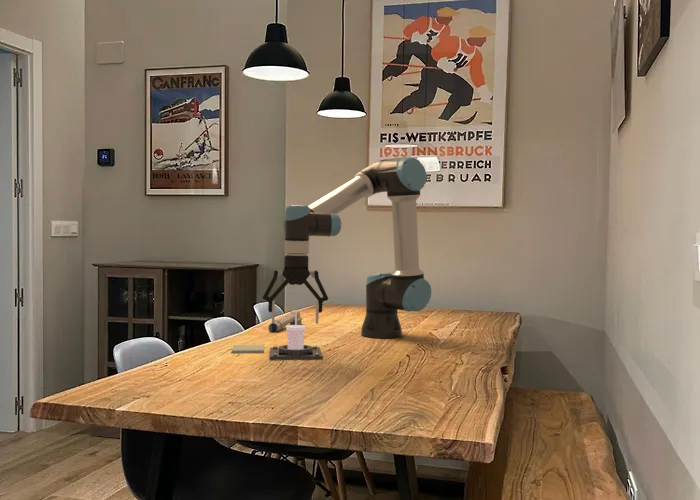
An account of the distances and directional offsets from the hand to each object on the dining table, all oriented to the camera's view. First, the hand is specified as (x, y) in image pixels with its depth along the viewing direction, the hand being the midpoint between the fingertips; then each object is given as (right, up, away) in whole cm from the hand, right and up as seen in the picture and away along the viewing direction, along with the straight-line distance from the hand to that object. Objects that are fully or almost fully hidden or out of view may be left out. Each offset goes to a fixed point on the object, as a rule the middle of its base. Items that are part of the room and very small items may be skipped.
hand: (295, 323), depth 217 cm
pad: (-16, -10, +8) cm, 20 cm away
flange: (0, -10, +1) cm, 10 cm away
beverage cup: (0, -10, +1) cm, 10 cm away
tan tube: (-8, -9, +58) cm, 59 cm away
